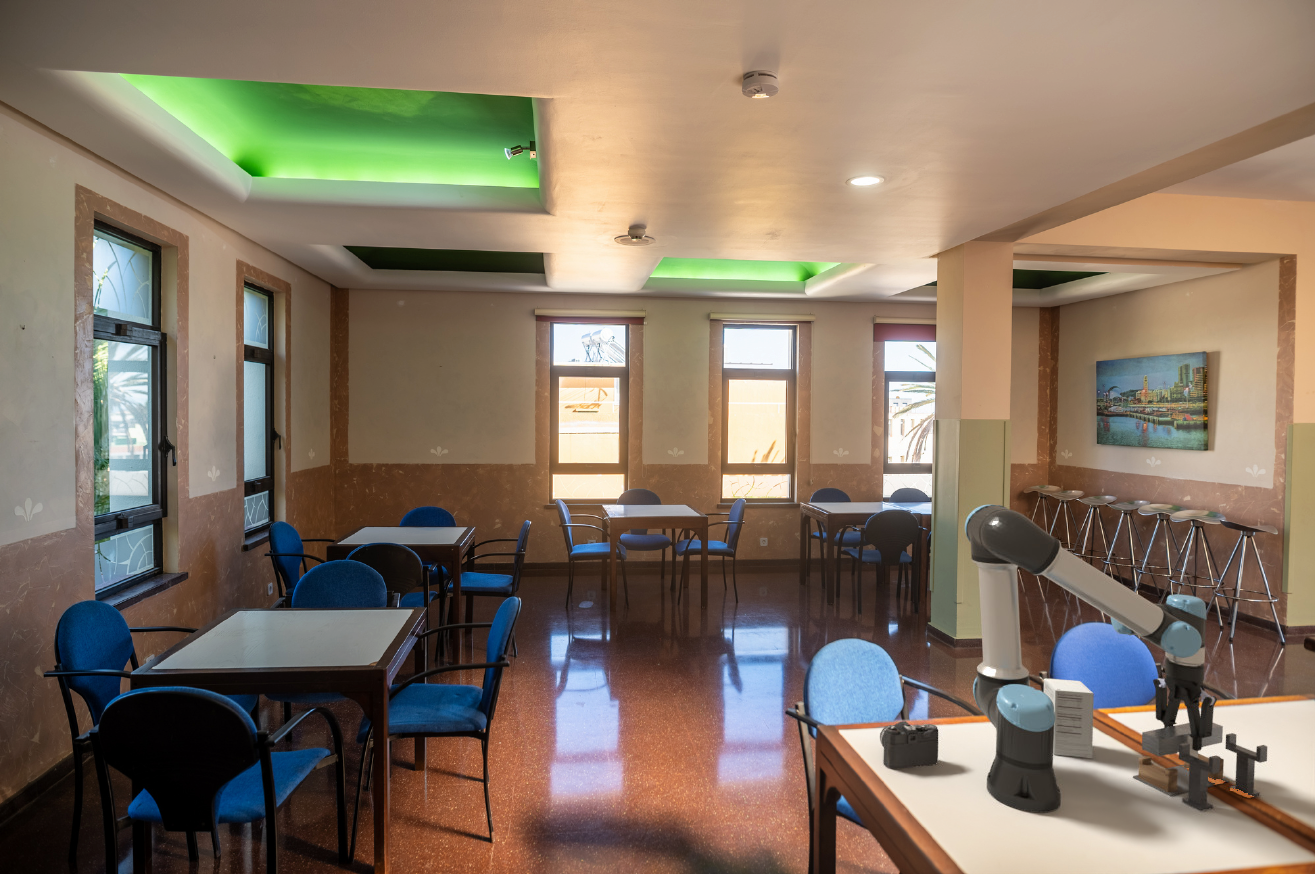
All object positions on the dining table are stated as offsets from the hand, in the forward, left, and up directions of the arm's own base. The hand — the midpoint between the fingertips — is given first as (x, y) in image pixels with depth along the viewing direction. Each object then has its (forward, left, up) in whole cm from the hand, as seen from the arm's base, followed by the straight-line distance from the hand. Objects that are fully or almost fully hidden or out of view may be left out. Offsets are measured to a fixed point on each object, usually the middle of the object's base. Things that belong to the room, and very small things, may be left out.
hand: (1182, 757), depth 172 cm
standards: (0, -9, -5) cm, 10 cm away
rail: (0, 0, +3) cm, 3 cm away
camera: (-56, +31, -6) cm, 64 cm away
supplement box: (-12, +21, -6) cm, 25 cm away
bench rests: (0, 0, -5) cm, 5 cm away
